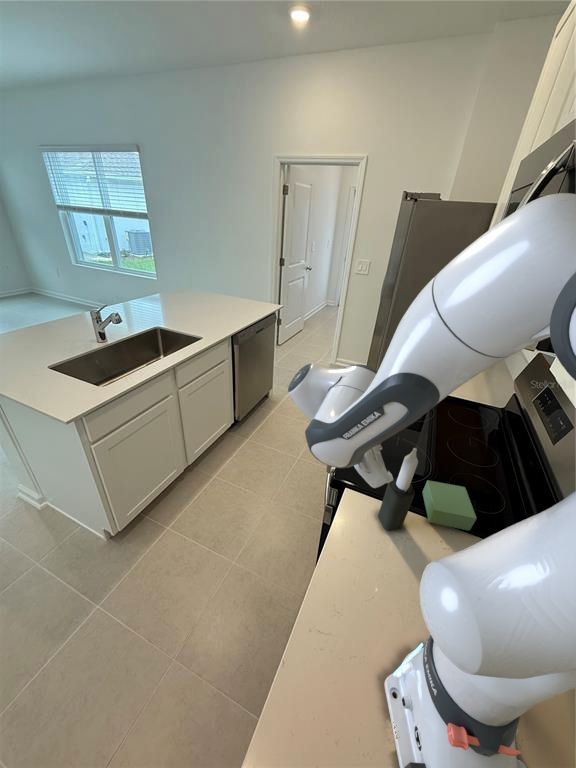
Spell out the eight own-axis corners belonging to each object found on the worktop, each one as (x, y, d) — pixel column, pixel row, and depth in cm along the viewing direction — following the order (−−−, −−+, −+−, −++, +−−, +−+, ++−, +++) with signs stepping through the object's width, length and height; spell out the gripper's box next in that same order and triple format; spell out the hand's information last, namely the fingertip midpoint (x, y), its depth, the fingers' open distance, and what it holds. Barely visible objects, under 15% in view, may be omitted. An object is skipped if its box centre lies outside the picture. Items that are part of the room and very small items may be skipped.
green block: (469, 530, 78) (476, 518, 76) (428, 522, 80) (434, 510, 77) (459, 499, 87) (465, 487, 84) (422, 492, 88) (427, 480, 86)
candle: (385, 531, 77) (411, 457, 64) (376, 513, 81) (398, 441, 68) (403, 528, 78) (432, 455, 65) (394, 511, 82) (419, 439, 69)
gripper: (370, 453, 54) (411, 494, 59) (352, 392, 72) (385, 427, 77) (341, 470, 56) (383, 508, 61) (331, 406, 74) (364, 440, 79)
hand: (384, 462), depth 69 cm, fingers open, 8 cm apart
